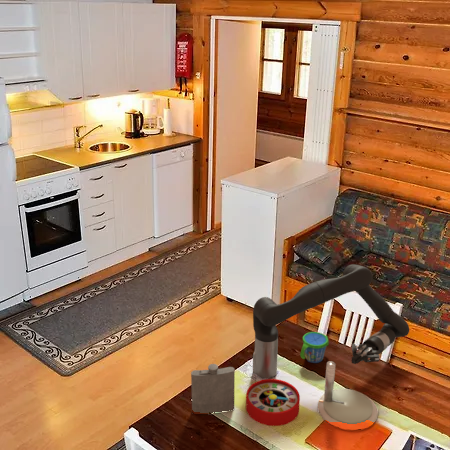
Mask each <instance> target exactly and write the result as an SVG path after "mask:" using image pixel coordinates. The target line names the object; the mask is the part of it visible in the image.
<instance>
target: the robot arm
mask: <svg viewBox="0 0 450 450" xmlns="http://www.w3.org/2000/svg"><path fill="white" fill-rule="evenodd" d="M342 273H343V274H342V276H338V277H333V278H328V279H327V278H326V279H321V280H317V281H314V282H311V283H307V284H305V285H304V286H302V287H300V288H299V290H298V291H297V292H296V294H295V295H294V296H293V297H292V298H291V299H289V300H287V301H283V302H282V303H279V304H277V303H276V302H275V301H274V300H273V299H272V298H270V297H267V296H264V297H261V298H259V299H257V301H256V302H255V304H254V306H253V310H252V321H253V323H252V325H253V331H254V352H253V354H252V374H254V375H255V376H257V377H258V378H260V379H273V378H274V377H275V376H276V375H277V373H278V372H277V371H278V352H279V351H278V346H279V330H278V329H279V328H277V325H280V324H281V323H283V322H285V321H287V320H288V319H289V320H290V318H293V317H294V316H296V315H298V314H301V313H303V312H305V311H307V310H310V309H313V308H315V307H318V306H320V305H323V304H325V303H327V302H330V301H332V300H334V299H337V298H340V297H342V296H343V295H346V294H349V293H352V292H356V294H358V295H359V297H361V299H362V300H363V301H364V302H365V303H366V304H367V306H368V307H369V308H370V309H371V311H372V312H373V313H374V315H375V316H376V317H377V319H378V320H379V321H380V322H381V323H382V324H383V326H382V327H381V329H380V330H379V331H377V332H375V333H374V334H372V335H371V336H369V337H368V338H367V339H365V340H364V341H363V342H362V343H361V344H358V345H356V344H355V343H354V342H353V343H352V344H351V352H352V357H351V363H352V364H354V365H356V364H359V363H360V362H364V363H377V362H380V354H382V353H383V352H384V351H385V350H386V349H387V348H388V347H389V346H390V345H392V344H393V343H394V342H395V340H396V338H402V337H407V336H408V335H409V333H410V326H409V324H408V323H407V320H405V318H404V317H402V316H401V315H399V314H398V313H397V312H395V311H394V310H393V308H392V307H391V306H390V305H389V303H388V302H387V301H386V300H385V299H384V298H383V296H381V295H380V294H379V293H378V292H377V291H375V289H374V288H373V287H372V286H371V283H372V281H373V277H374V275H373V272H372V270H371V269H369V268H368V267H365V266H363V265H360V264H356V263H355V264H354V263H353V264H348V265H347V266H346V267H345V268H344V270H343V272H342Z"/></svg>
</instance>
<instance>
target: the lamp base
mask: <svg viewBox="0 0 450 450" xmlns="http://www.w3.org/2000/svg"><path fill="white" fill-rule="evenodd" d="M364 395H365V396H366V397H367V398H368V399H369V400H370V401H371V403H372V406H373V410H372V415H371V417H370V418H369V419H368V420H370V421H372V422H375V421H377V420H378V415H379V411H378V407H377V405H376V404H375V402H374V400H372V399H371V398H370V397H368V396H367V395H366V394H364ZM323 401H324V393H323V394H322V395H321V396H320V397H319V399H318V402H317V411H318V414H319V416H320V417H321V418H322V419H323V421H325V420H327V421H329V422H339V421H337V420H335V419H333V418H331V417H330V416H329V415H328V414H327V413H326V412H325V410H324V407H323ZM375 423H376V422H375Z"/></svg>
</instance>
